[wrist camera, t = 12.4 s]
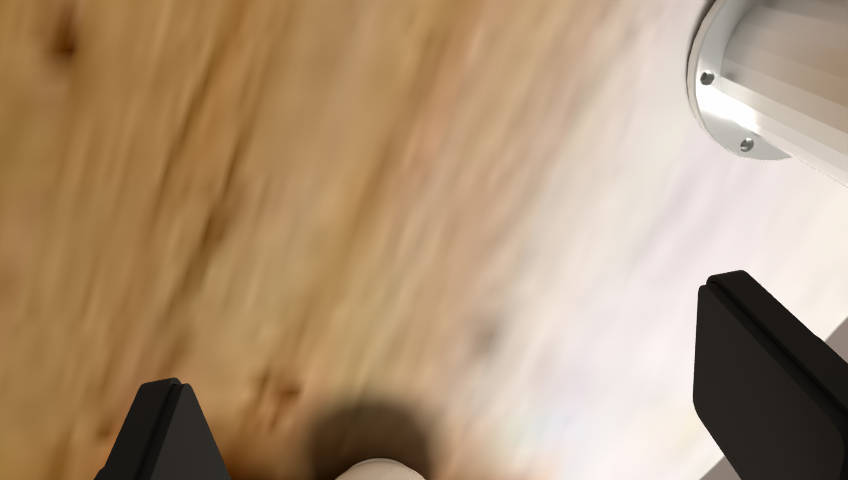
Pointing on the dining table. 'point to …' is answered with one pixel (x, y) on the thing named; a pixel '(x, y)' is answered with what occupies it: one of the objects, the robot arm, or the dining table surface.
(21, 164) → the dining table surface
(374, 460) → the lidded jar
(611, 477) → the dining table surface
